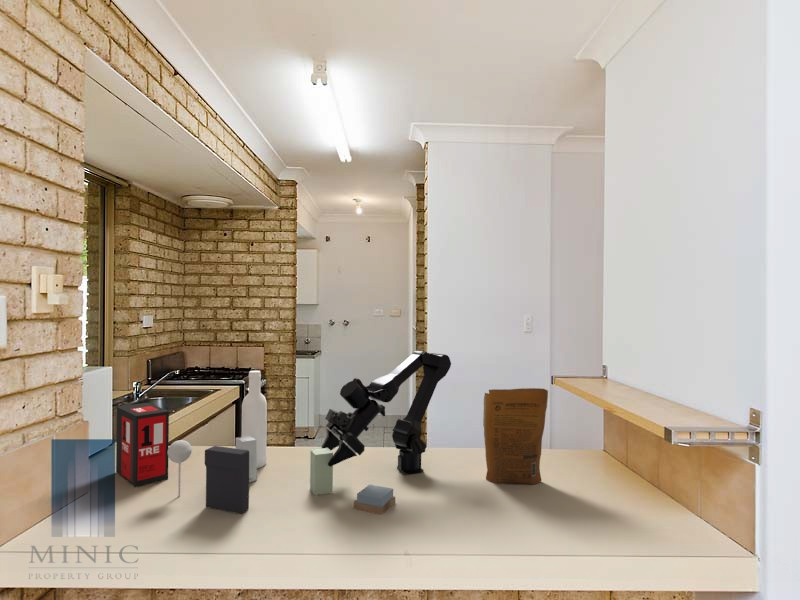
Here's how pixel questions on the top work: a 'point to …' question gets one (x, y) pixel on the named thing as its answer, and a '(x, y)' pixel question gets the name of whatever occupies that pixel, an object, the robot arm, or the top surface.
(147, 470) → the cleaning product box
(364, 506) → the walnut base block
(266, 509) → the top surface
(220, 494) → the calculator
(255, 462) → the skincare box
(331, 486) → the sage block
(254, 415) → the bottle
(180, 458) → the lollipop
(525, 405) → the pancake mix bag
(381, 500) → the slate top block
